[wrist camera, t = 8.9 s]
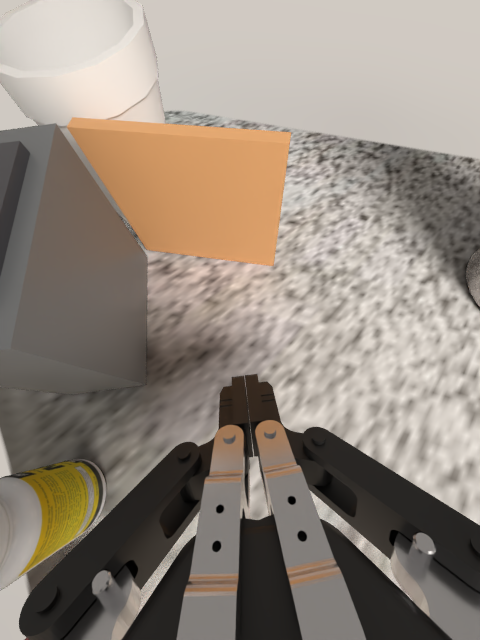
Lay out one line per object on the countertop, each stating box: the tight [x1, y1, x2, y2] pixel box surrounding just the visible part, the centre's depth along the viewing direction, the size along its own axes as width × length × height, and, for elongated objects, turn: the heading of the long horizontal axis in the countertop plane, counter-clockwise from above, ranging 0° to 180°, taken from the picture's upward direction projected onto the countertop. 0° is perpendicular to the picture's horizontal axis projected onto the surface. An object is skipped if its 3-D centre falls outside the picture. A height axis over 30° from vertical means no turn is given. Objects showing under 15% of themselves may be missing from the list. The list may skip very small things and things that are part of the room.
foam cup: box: [0, 0, 166, 224], centre depth 21 cm, size 10×9×13 cm
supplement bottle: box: [0, 459, 106, 590], centre depth 14 cm, size 5×5×8 cm
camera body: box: [0, 123, 147, 395], centre depth 16 cm, size 6×12×13 cm, turn 7°
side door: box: [67, 117, 291, 266], centre depth 18 cm, size 1×12×11 cm, turn 80°
